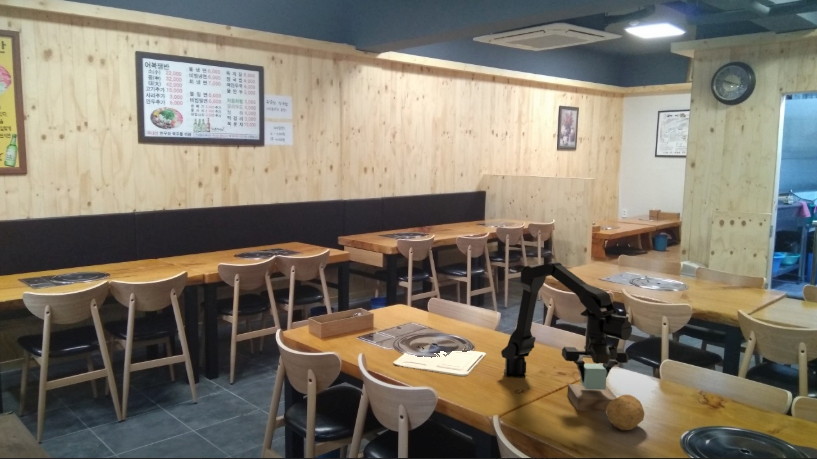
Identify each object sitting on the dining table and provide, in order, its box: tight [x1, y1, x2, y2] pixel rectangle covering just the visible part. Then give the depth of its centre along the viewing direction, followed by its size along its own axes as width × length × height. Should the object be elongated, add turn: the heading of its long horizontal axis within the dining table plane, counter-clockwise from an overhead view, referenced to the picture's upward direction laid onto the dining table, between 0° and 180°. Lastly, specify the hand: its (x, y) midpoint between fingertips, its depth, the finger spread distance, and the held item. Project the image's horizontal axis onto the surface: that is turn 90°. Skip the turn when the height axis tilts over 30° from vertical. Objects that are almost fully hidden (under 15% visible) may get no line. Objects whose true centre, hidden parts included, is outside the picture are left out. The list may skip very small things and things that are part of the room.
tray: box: [392, 350, 487, 377], centre depth 222 cm, size 28×28×2 cm
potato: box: [605, 394, 646, 431], centre depth 166 cm, size 10×14×8 cm
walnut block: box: [567, 383, 618, 412], centre depth 183 cm, size 12×12×4 cm
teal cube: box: [580, 362, 607, 390], centre depth 182 cm, size 6×6×6 cm
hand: (592, 381), depth 183 cm, fingers closed on teal cube, 6 cm apart
